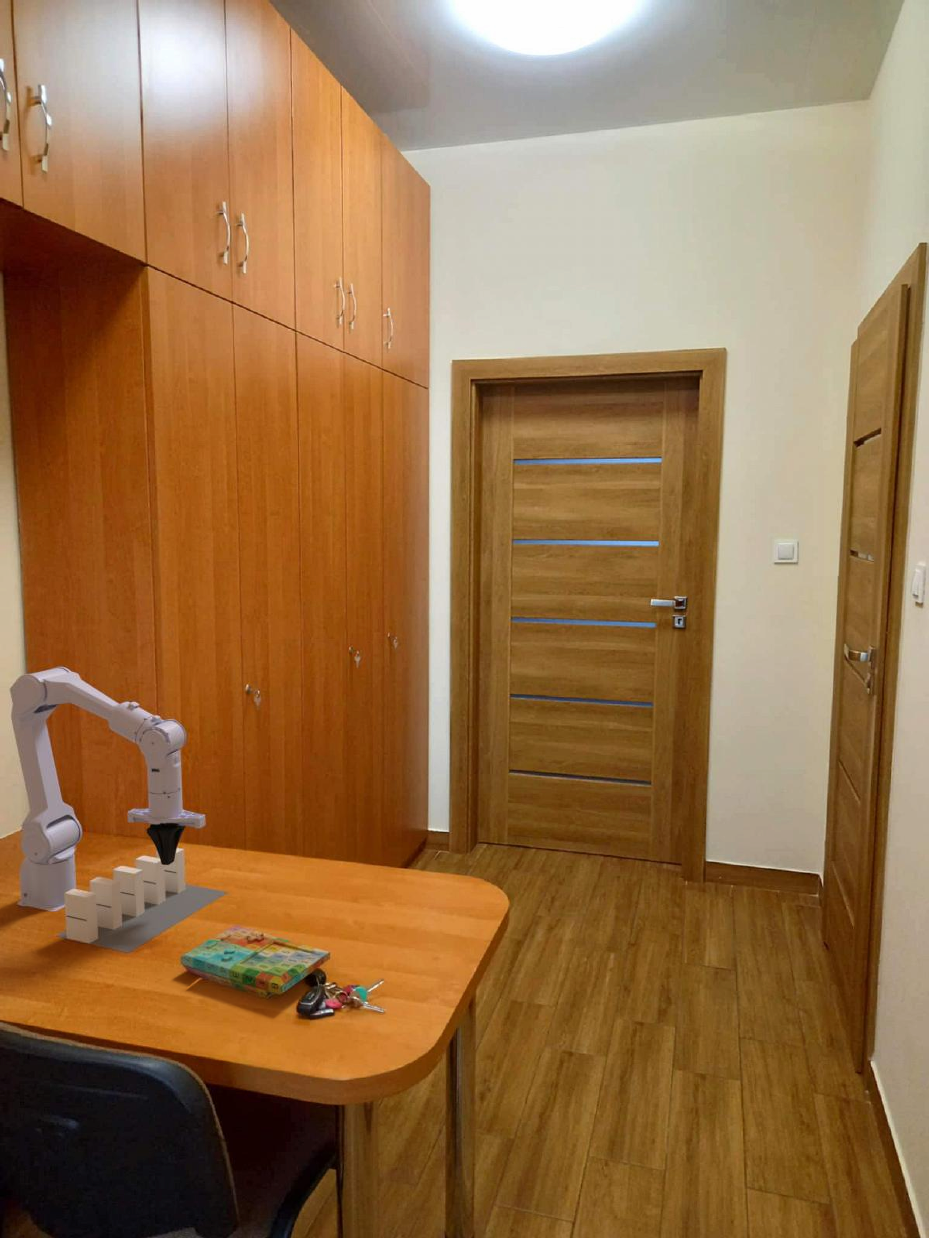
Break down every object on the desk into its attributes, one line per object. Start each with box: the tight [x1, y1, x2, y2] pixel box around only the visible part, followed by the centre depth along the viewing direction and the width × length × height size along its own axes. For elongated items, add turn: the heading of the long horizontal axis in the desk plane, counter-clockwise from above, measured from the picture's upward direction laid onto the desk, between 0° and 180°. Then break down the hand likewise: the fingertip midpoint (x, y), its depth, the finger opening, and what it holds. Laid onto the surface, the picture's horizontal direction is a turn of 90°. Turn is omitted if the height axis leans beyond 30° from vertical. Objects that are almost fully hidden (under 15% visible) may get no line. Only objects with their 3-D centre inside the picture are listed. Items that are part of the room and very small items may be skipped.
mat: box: [55, 883, 229, 954], centre depth 160 cm, size 16×26×1 cm, turn 157°
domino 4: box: [135, 855, 166, 905], centre depth 165 cm, size 2×5×8 cm, turn 67°
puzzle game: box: [180, 924, 331, 1000], centre depth 139 cm, size 12×5×20 cm
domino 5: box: [155, 847, 186, 893], centre depth 170 cm, size 2×5×8 cm, turn 67°
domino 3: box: [112, 865, 145, 917], centre depth 160 cm, size 2×5×8 cm, turn 67°
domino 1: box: [64, 888, 98, 944], centre depth 150 cm, size 2×5×8 cm, turn 67°
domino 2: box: [89, 876, 122, 930], centre depth 155 cm, size 2×5×8 cm, turn 67°
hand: (167, 862), depth 159 cm, fingers closed
